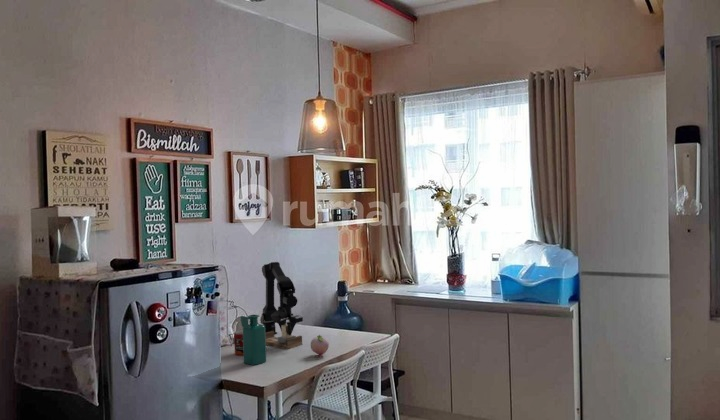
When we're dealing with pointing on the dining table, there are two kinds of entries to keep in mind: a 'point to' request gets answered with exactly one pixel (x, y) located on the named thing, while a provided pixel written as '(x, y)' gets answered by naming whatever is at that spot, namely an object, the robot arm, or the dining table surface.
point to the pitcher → (253, 340)
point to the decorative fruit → (319, 345)
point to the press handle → (284, 334)
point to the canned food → (238, 342)
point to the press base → (289, 343)
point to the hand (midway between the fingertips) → (286, 334)
